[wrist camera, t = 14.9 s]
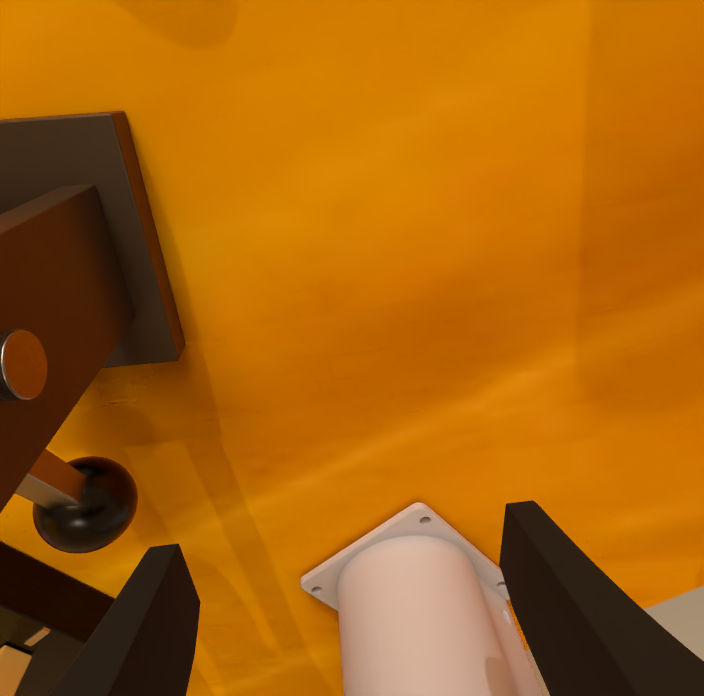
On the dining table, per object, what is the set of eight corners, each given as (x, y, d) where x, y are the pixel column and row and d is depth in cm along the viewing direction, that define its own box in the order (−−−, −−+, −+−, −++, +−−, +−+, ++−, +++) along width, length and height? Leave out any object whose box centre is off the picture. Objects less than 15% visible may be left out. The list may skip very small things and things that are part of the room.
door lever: (155, 468, 19) (145, 555, 18) (72, 477, 19) (54, 565, 18) (-70, 260, 9) (-144, 416, 8) (-250, 275, 9) (-367, 438, 7)
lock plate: (169, 626, 27) (157, 678, 24) (68, 695, 29) (48, 749, 27) (-50, 516, 22) (-92, 569, 19) (-151, 610, 24) (-199, 668, 22)
